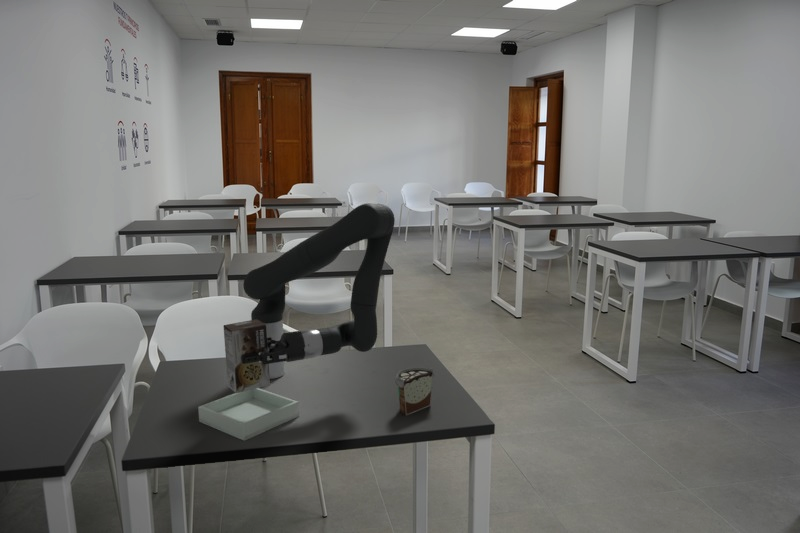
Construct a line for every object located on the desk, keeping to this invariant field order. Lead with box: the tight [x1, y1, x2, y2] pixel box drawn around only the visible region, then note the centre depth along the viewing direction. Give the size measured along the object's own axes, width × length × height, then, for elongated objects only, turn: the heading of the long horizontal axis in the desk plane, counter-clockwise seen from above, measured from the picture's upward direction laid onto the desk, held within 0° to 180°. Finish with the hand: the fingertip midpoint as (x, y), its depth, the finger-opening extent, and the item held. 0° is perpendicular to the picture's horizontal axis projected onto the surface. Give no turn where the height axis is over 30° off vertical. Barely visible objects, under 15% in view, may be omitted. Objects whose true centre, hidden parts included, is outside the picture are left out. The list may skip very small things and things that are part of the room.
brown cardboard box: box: [223, 319, 271, 393], centre depth 160 cm, size 9×6×16 cm
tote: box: [197, 387, 300, 442], centre depth 163 cm, size 18×18×4 cm
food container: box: [395, 366, 436, 416], centre depth 170 cm, size 12×6×10 cm, turn 134°
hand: (238, 355), depth 159 cm, fingers closed on brown cardboard box, 7 cm apart
